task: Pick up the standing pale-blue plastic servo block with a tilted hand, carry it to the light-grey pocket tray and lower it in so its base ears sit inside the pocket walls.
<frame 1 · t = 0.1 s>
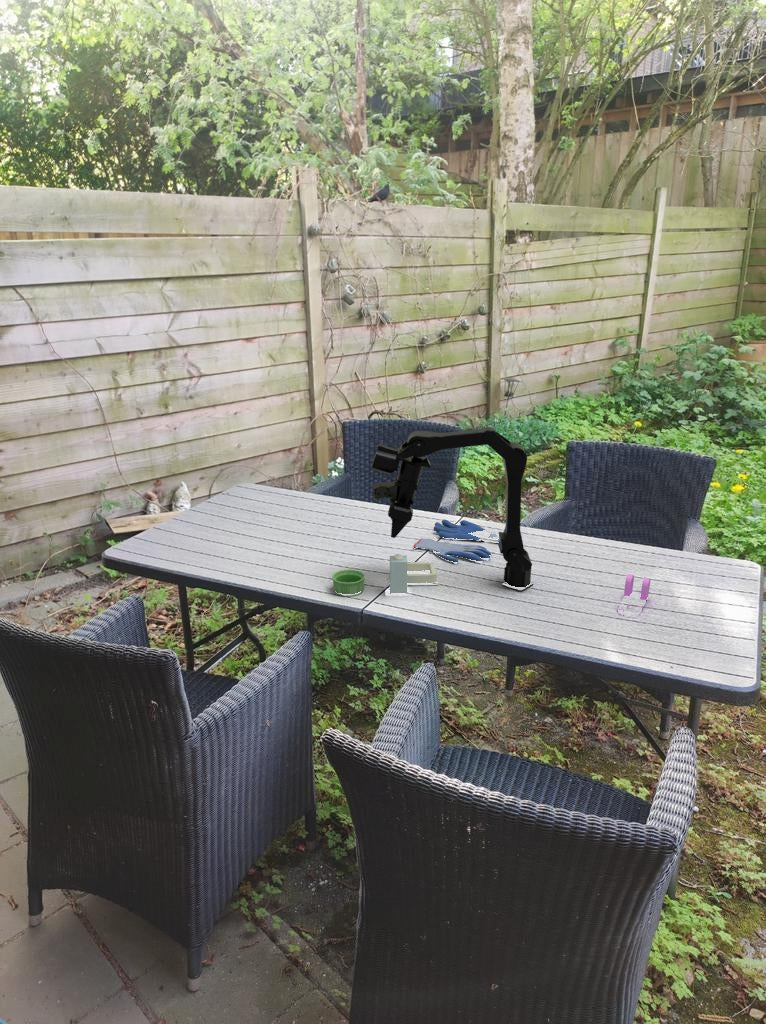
hand: (393, 531, 193), 15 cm above the table, tool pointing down, fingers open, 9 cm apart
servo block: (398, 592, 192), on the table
ramekin: (348, 591, 194), on the table
pair of gloves: (461, 546, 226), on the table
pocket tray: (414, 578, 201), on the table
bracket: (631, 608, 184), on the table
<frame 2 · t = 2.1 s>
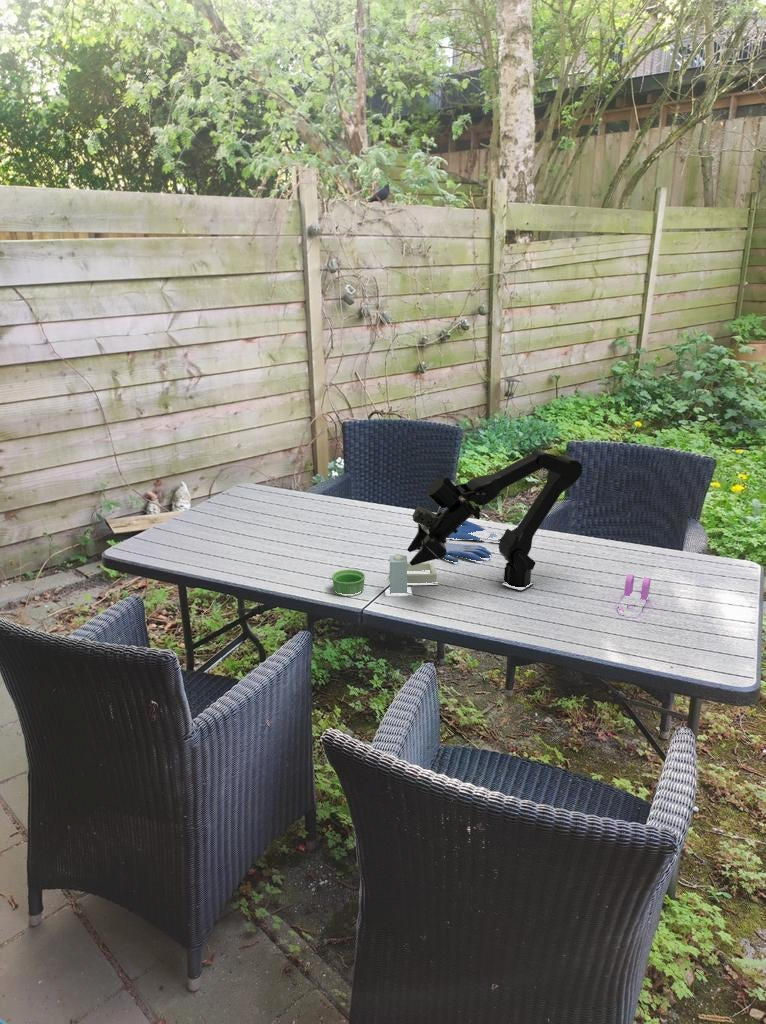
hand: (409, 557, 189), 10 cm above the table, tool tilted 45°, fingers open, 9 cm apart
nothing on the table moved.
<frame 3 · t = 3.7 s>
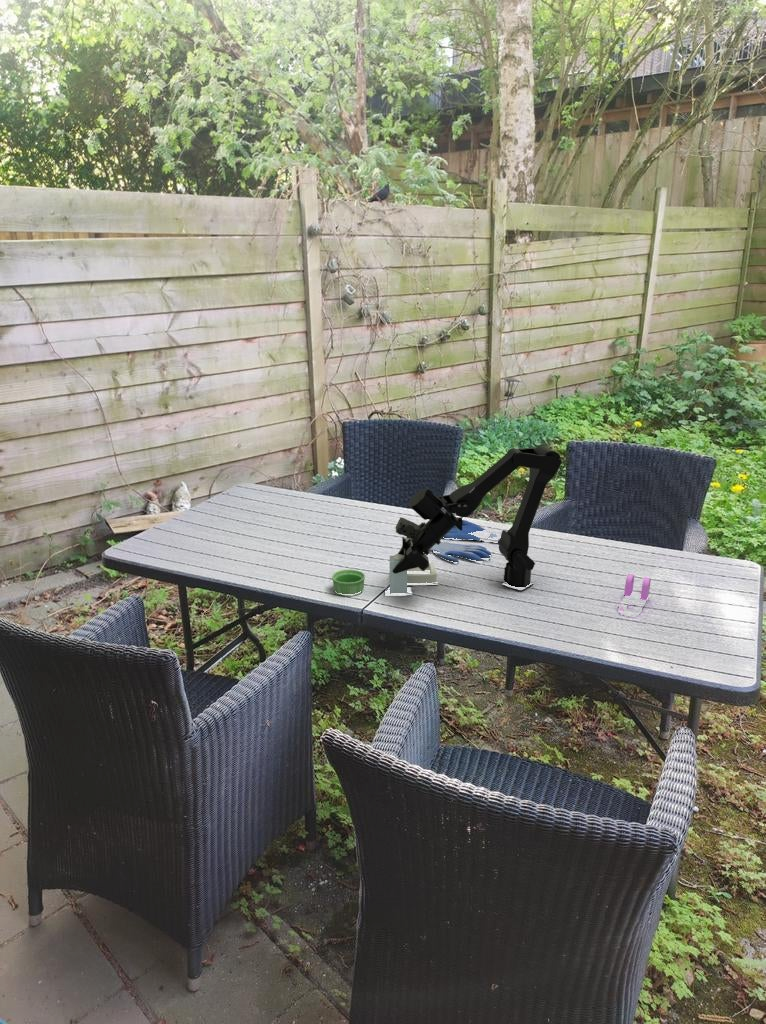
hand: (393, 568, 190), 7 cm above the table, tool tilted 45°, fingers closed on servo block, 4 cm apart
servo block: (398, 592, 192), on the table, touching gripper
everything else where it was.
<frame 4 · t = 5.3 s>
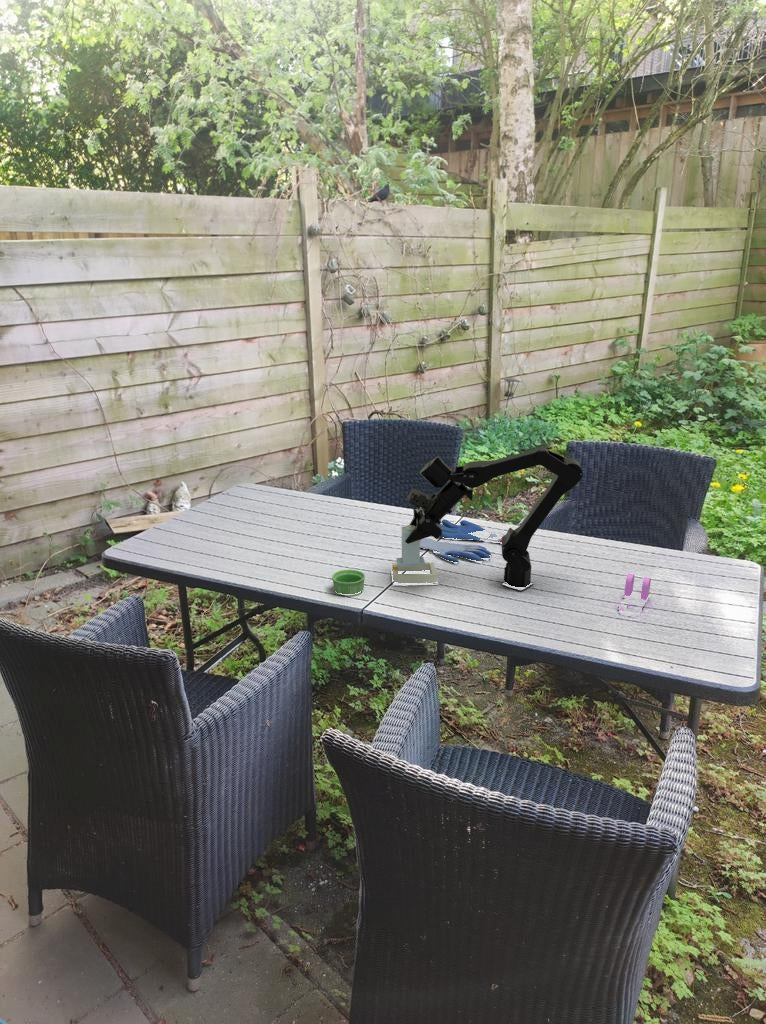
hand: (405, 539, 193), 13 cm above the table, tool tilted 45°, fingers closed on servo block, 4 cm apart
servo block: (410, 563, 196), point 6 cm above the table, touching gripper
everything else where it was.
when the fingers open (8 cm above the table, at t = 7.0 s): servo block stays where it is, resting on pocket tray.
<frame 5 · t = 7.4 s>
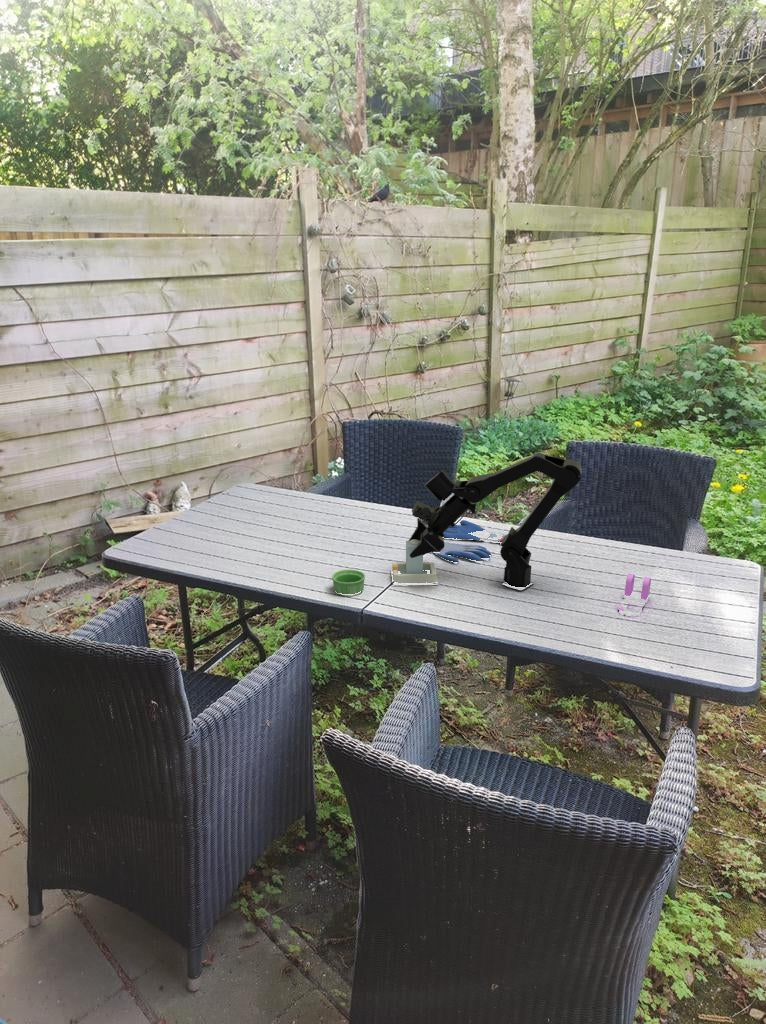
hand: (409, 550, 198), 9 cm above the table, tool tilted 45°, fingers open, 9 cm apart
servo block: (414, 576, 200), point 1 cm above the table, touching pocket tray
everything else where it was.
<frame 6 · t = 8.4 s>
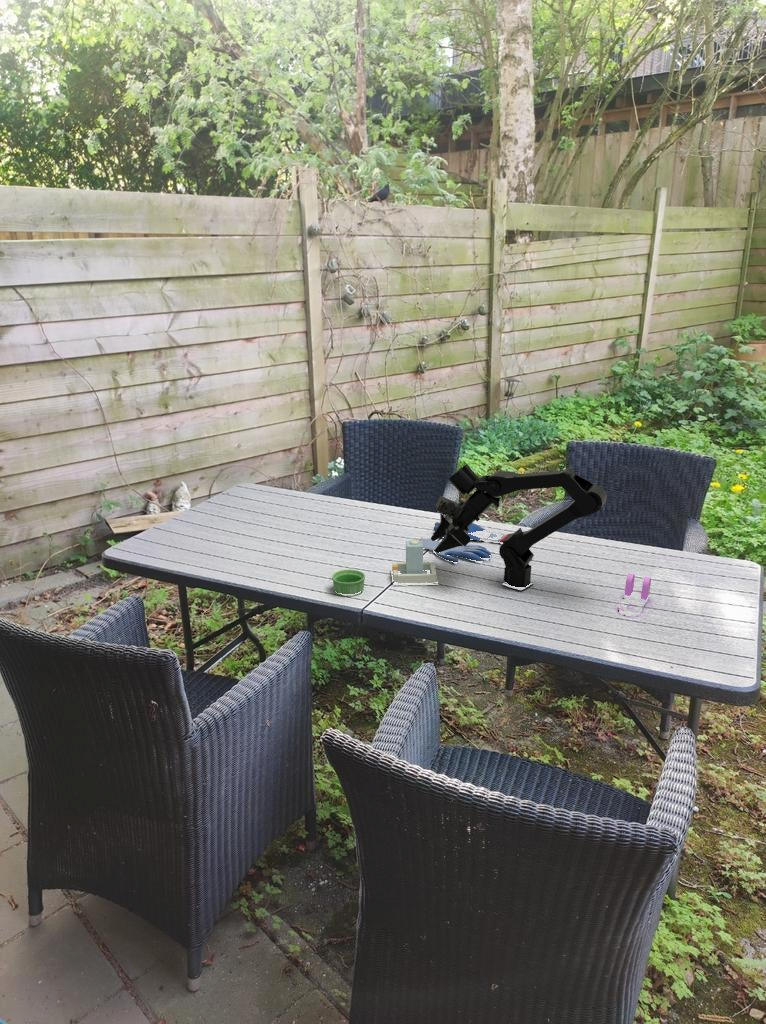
hand: (433, 545, 197), 10 cm above the table, tool tilted 45°, fingers open, 9 cm apart
nothing on the table moved.
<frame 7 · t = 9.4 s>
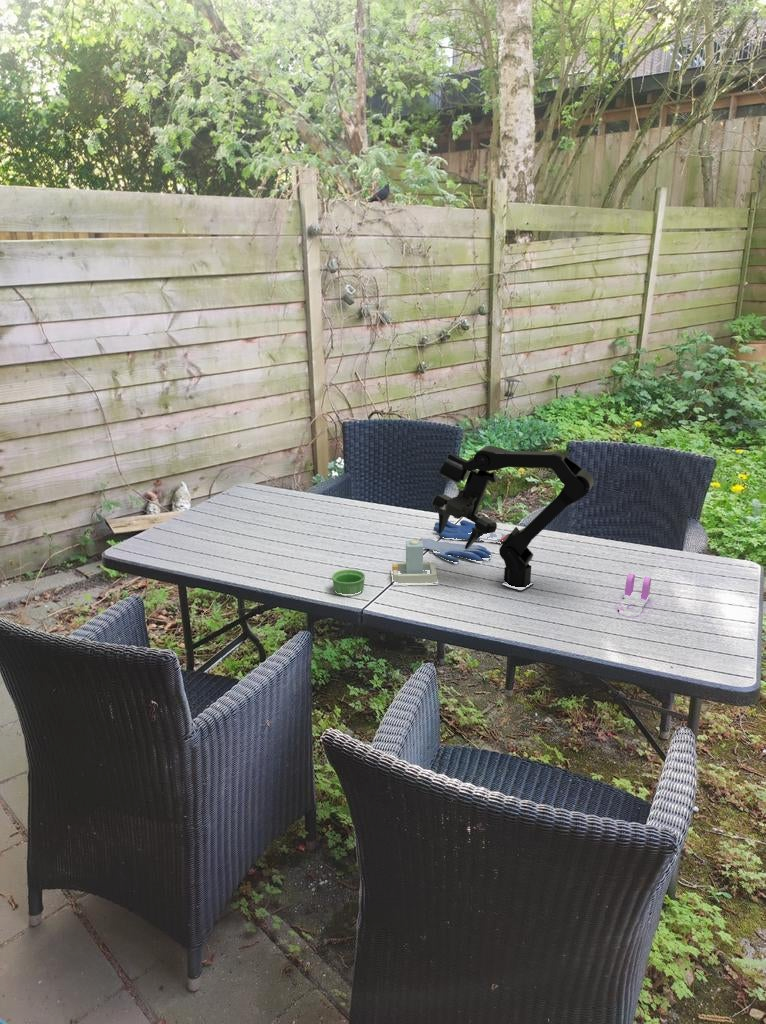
hand: (452, 540, 197), 11 cm above the table, tool tilted 20°, fingers open, 9 cm apart
nothing on the table moved.
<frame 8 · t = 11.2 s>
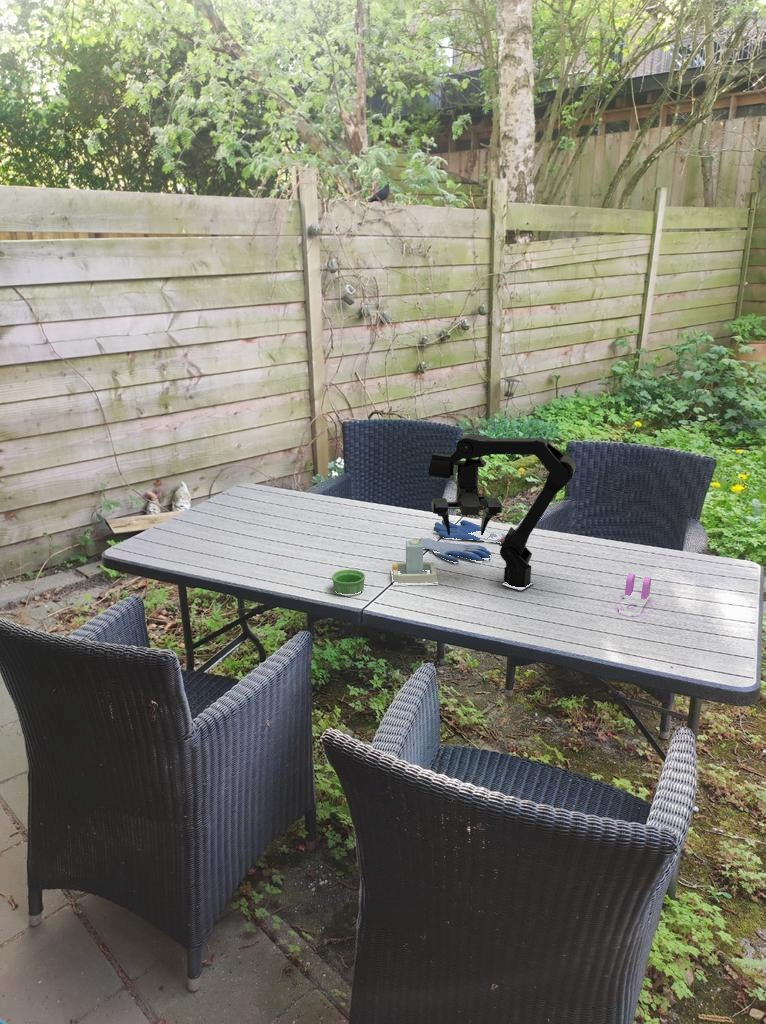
hand: (465, 534, 197), 13 cm above the table, tool pointing down, fingers open, 9 cm apart
nothing on the table moved.
at the end: servo block 0.0 cm off-centre on the pocket tray, point 0.6 cm above the pocket tray's base; servo block tilted 0°; the gripper is holding nothing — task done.
